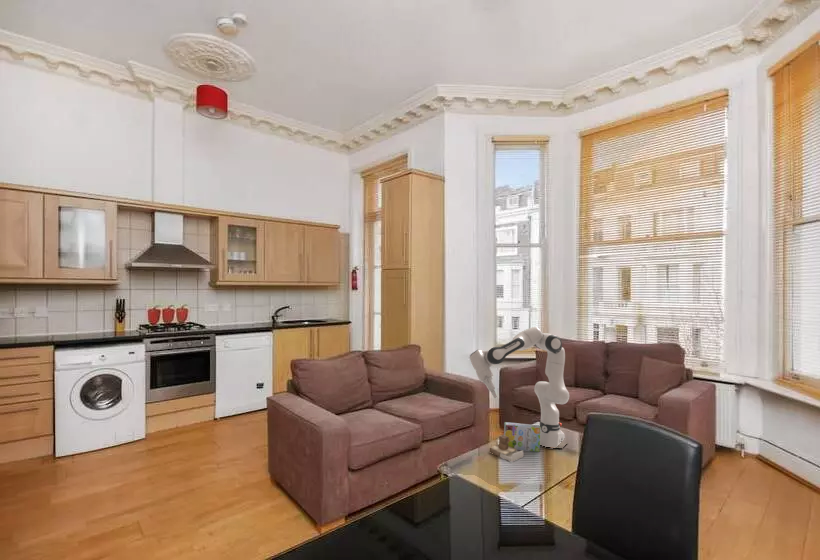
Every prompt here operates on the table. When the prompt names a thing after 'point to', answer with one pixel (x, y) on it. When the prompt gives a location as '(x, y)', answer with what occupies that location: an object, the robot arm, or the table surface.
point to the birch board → (497, 450)
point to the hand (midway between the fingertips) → (495, 397)
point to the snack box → (523, 436)
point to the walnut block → (503, 442)
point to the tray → (512, 455)
